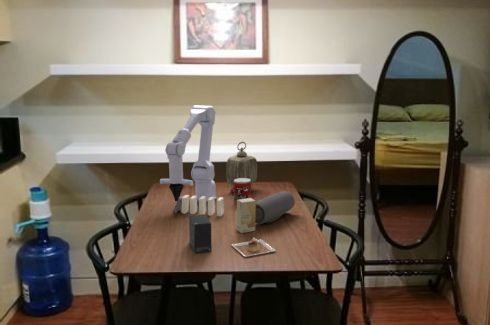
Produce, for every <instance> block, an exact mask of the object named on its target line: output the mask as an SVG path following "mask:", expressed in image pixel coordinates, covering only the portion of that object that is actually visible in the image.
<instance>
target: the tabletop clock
mask: <svg viewBox="0 0 490 325" xmlns="http://www.w3.org/2000/svg"><path fill="white" fill-rule="evenodd" d="M241 144H244V147H242V146H241V147H240V148H239V146H240V145H241ZM246 148H247V143H246V142H245V141H240V142H238V144H237V150H238V151H237V153H236V154H234V155H232V156H230V157H229V158H228V159H227V161H226V169H225V170H226V173H225V174H226V181H227V182H226V183H227V185H230V186H233V187H232V189H230V193H231V194H232V193H233V194H234V180H235V179H238V178H248V179H250V180H251V184H253V183H255V182H256V181H257V178H258V162H257V161H258V160H257V158H256V157H255V156H252V155H248V153H247V152H246V151H245V150H246Z"/></svg>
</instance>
